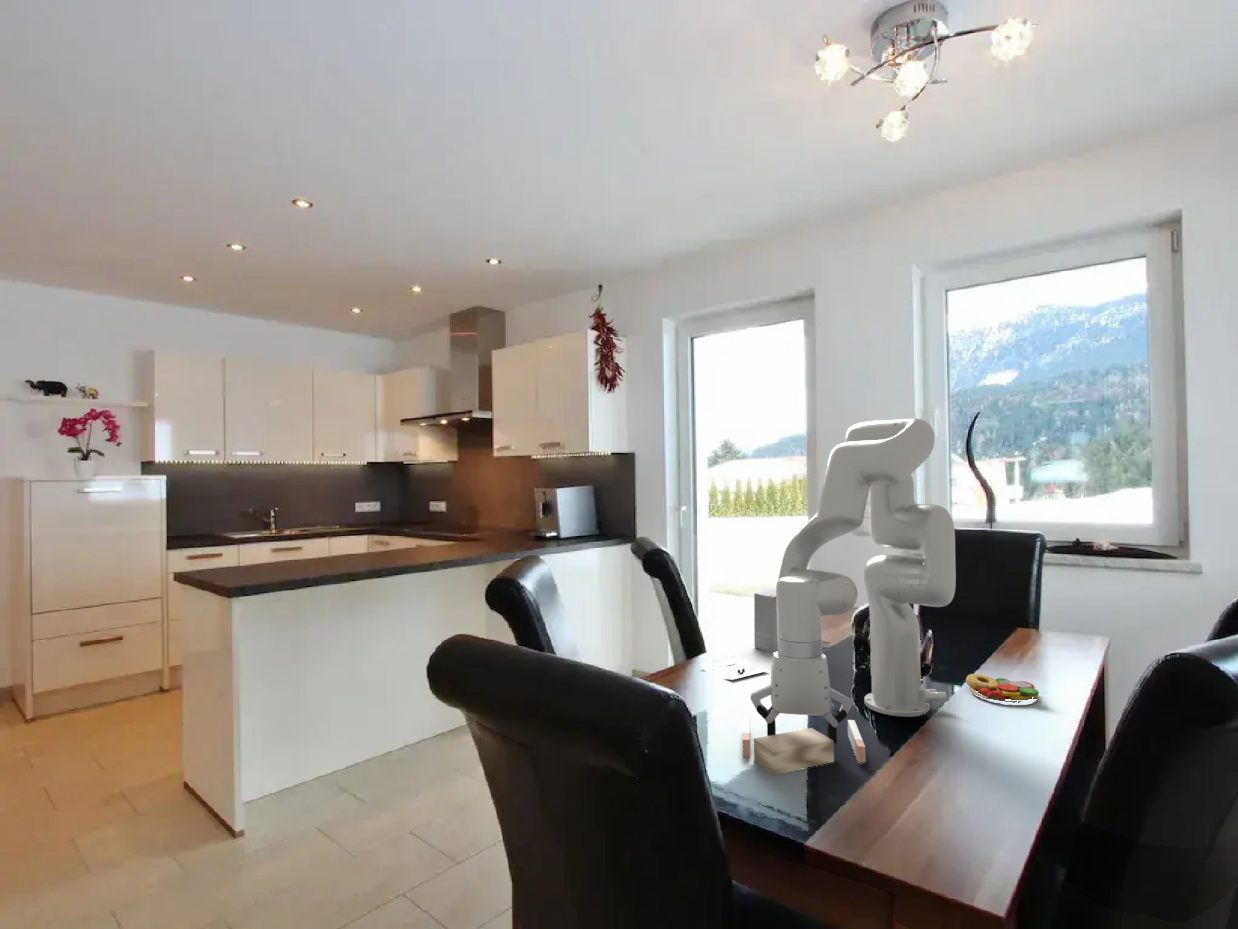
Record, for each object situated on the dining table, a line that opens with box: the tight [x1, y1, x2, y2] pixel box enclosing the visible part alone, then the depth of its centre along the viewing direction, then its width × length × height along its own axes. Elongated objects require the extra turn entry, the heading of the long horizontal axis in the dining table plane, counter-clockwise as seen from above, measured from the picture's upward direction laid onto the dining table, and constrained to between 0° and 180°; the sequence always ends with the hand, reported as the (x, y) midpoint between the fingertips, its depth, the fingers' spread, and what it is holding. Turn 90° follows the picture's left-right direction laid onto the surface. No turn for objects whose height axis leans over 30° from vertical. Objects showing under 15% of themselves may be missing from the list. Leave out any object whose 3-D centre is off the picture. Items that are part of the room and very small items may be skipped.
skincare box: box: [753, 588, 778, 653], centre depth 184 cm, size 8×7×16 cm
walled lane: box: [742, 713, 867, 764], centre depth 119 cm, size 20×12×3 cm, turn 79°
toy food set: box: [965, 673, 1040, 703], centre depth 142 cm, size 13×13×3 cm
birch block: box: [753, 727, 835, 776], centre depth 113 cm, size 12×6×4 cm, turn 110°
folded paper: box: [699, 655, 769, 680], centre depth 164 cm, size 12×12×2 cm
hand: (801, 745), depth 116 cm, fingers open, 9 cm apart
